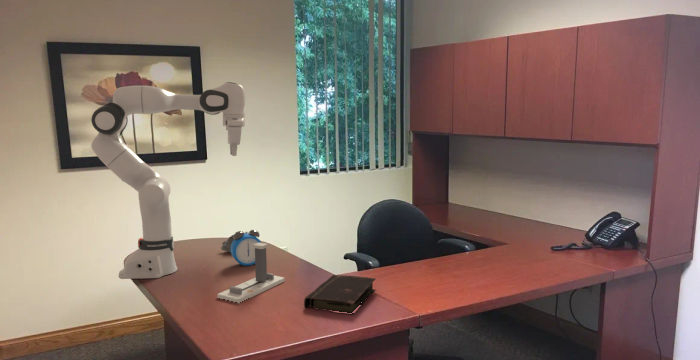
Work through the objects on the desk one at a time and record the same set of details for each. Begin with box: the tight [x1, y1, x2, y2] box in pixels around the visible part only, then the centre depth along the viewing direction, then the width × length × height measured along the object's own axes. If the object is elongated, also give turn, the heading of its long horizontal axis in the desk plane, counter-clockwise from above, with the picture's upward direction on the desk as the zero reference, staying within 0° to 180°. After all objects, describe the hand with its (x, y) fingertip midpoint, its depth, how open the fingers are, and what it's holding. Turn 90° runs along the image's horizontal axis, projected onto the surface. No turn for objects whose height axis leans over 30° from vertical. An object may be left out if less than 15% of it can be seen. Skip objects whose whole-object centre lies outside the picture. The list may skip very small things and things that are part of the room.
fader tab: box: [253, 242, 269, 282], centre depth 188 cm, size 4×4×14 cm
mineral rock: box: [220, 230, 250, 253], centre depth 235 cm, size 13×11×10 cm
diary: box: [303, 274, 377, 315], centre depth 175 cm, size 19×25×5 cm
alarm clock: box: [230, 229, 263, 267], centre depth 214 cm, size 13×6×15 cm, turn 116°
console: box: [217, 272, 286, 304], centre depth 184 cm, size 26×10×4 cm, turn 150°
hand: (233, 155), depth 207 cm, fingers open, 8 cm apart
